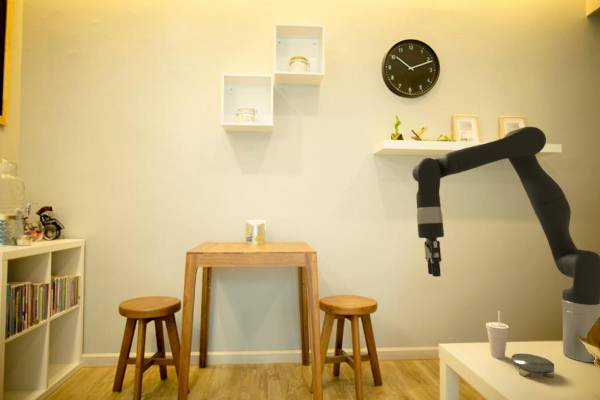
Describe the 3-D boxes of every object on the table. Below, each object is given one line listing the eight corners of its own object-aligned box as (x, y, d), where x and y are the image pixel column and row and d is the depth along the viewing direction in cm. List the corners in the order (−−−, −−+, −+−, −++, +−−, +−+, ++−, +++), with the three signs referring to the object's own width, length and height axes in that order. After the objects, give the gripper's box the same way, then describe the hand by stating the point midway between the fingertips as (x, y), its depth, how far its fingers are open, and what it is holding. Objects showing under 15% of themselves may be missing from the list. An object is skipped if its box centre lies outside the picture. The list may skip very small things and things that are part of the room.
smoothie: (512, 361, 106) (512, 314, 107) (489, 359, 108) (489, 313, 108) (505, 353, 113) (504, 308, 113) (483, 351, 114) (482, 307, 114)
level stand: (512, 361, 106) (512, 350, 106) (553, 369, 101) (553, 358, 101) (511, 374, 98) (511, 363, 98) (555, 384, 92) (555, 372, 93)
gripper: (447, 220, 103) (452, 277, 101) (438, 223, 117) (443, 273, 114) (420, 221, 104) (424, 277, 102) (415, 224, 118) (418, 273, 116)
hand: (434, 275), depth 108 cm, fingers open, 8 cm apart
